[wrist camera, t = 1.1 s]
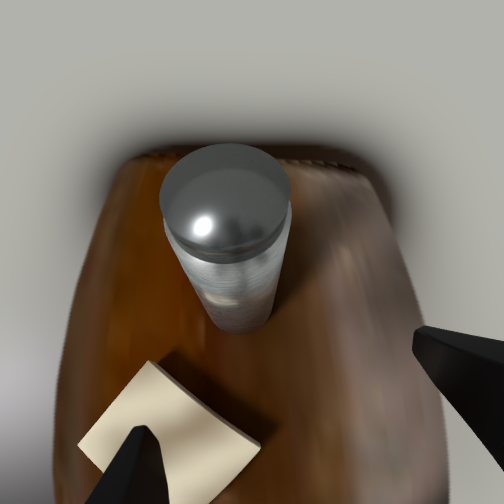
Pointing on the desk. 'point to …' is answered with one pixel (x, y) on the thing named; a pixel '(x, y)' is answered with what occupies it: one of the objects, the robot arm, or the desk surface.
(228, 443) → the cream square slab
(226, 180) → the steel bottle
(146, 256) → the desk surface
